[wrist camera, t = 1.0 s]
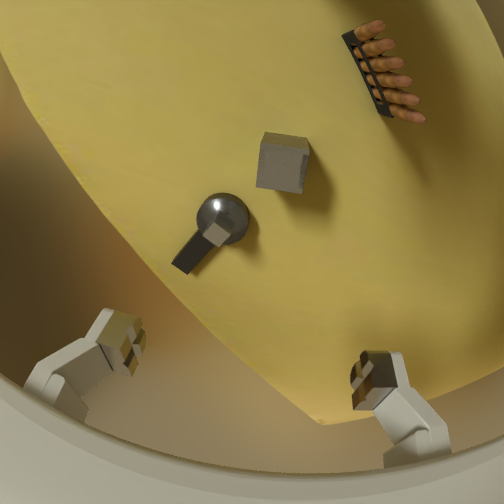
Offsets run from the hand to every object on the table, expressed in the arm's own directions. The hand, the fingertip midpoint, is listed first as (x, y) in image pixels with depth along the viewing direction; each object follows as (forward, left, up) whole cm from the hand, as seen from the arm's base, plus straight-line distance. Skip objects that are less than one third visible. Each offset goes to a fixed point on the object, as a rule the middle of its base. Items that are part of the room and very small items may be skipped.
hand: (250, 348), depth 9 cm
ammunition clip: (-12, +9, -29) cm, 32 cm away
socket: (+1, +1, -28) cm, 28 cm away
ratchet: (+14, -9, -28) cm, 33 cm away
